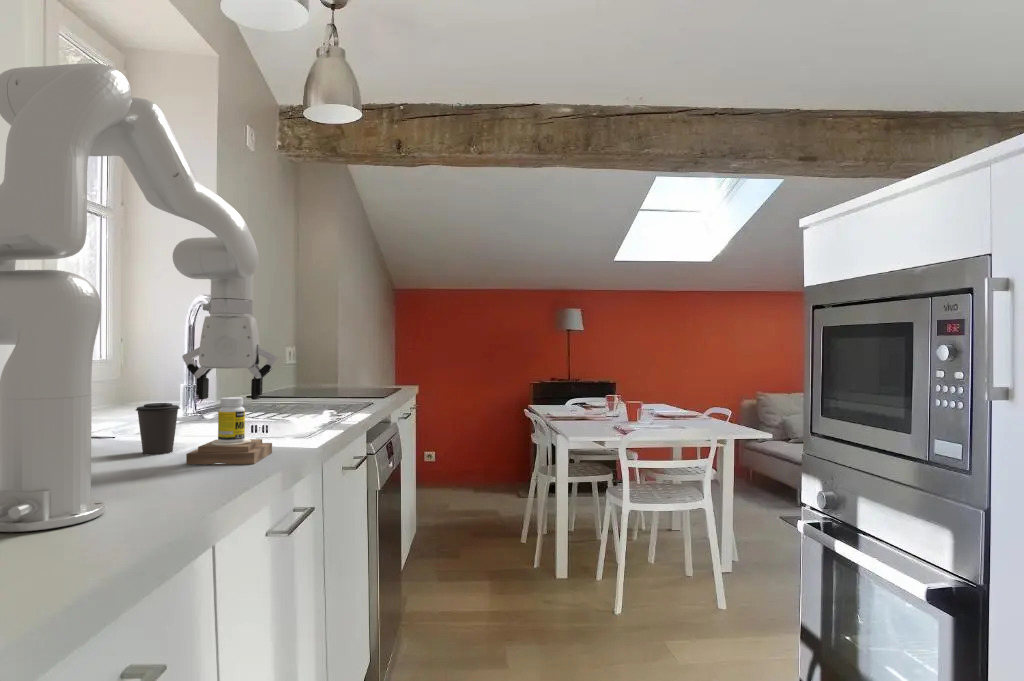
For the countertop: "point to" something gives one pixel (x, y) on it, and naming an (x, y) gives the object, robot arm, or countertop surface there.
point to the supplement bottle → (231, 420)
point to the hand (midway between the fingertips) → (229, 399)
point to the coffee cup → (157, 427)
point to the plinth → (230, 452)
